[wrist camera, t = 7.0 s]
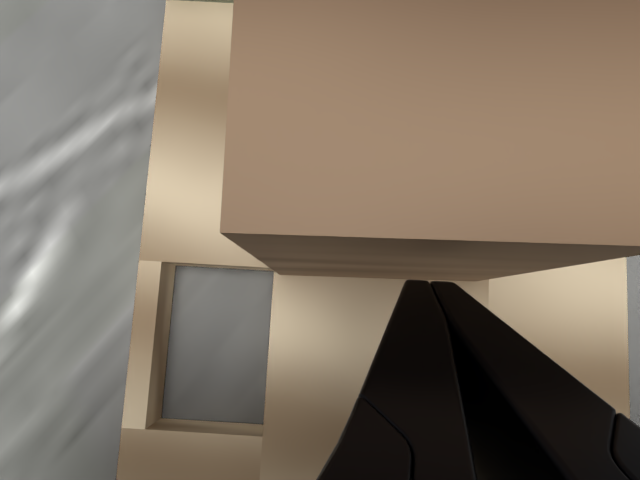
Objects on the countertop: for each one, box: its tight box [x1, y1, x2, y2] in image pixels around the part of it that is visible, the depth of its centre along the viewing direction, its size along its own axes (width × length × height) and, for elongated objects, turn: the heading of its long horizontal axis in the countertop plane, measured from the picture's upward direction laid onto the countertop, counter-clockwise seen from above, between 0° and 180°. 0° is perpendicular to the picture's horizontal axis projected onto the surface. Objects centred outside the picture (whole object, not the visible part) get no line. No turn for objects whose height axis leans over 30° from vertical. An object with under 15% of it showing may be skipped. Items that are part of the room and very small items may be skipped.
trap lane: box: [116, 0, 630, 480], centre depth 14 cm, size 18×15×6 cm
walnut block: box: [220, 0, 640, 281], centre depth 11 cm, size 8×6×9 cm
